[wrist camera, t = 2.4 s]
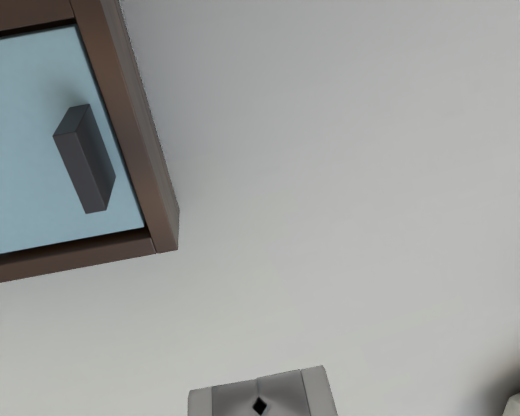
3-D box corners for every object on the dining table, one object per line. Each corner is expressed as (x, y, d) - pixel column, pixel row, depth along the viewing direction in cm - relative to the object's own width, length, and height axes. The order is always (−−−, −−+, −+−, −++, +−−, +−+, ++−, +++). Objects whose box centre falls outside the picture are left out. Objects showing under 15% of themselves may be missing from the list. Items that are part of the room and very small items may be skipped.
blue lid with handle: (-125, 58, 21) (-186, 89, 18) (77, 22, 21) (55, 45, 18) (-12, 248, 27) (-41, 298, 24) (145, 219, 27) (138, 264, 24)
